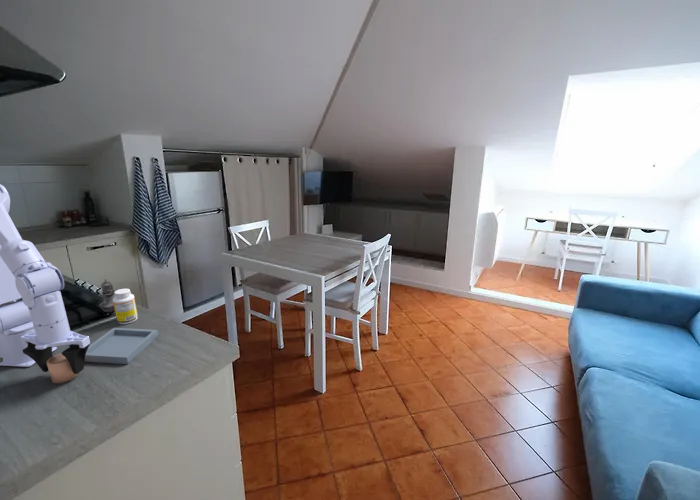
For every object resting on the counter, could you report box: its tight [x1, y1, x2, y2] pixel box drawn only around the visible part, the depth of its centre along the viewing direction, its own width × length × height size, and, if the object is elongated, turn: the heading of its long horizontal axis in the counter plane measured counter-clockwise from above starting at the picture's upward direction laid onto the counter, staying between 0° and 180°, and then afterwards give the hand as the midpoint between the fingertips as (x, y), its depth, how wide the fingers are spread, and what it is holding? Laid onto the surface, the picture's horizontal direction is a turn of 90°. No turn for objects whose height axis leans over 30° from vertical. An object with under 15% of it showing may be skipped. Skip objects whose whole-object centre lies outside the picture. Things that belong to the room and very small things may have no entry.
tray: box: [84, 327, 159, 365], centre depth 89 cm, size 13×13×2 cm
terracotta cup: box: [47, 352, 79, 384], centre depth 78 cm, size 5×6×5 cm
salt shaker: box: [99, 279, 116, 313], centre depth 105 cm, size 6×6×12 cm
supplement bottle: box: [113, 288, 139, 325], centre depth 102 cm, size 6×6×10 cm
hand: (63, 370), depth 78 cm, fingers open, 7 cm apart
